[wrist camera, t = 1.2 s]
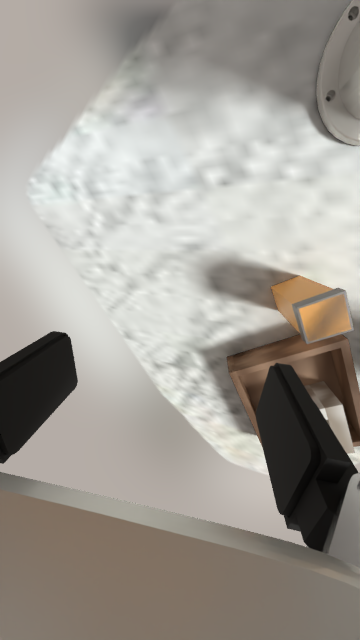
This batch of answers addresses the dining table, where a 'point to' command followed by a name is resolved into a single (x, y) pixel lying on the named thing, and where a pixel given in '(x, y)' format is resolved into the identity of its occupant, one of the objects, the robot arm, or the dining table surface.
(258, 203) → the dining table surface
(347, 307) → the connector
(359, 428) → the walled box
